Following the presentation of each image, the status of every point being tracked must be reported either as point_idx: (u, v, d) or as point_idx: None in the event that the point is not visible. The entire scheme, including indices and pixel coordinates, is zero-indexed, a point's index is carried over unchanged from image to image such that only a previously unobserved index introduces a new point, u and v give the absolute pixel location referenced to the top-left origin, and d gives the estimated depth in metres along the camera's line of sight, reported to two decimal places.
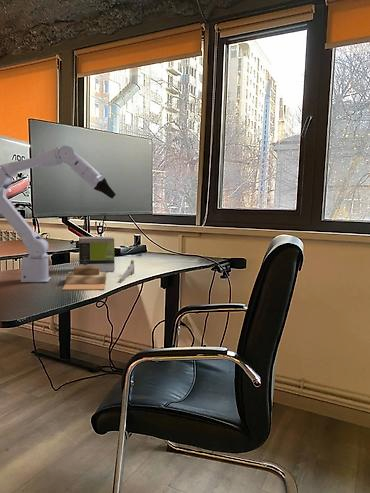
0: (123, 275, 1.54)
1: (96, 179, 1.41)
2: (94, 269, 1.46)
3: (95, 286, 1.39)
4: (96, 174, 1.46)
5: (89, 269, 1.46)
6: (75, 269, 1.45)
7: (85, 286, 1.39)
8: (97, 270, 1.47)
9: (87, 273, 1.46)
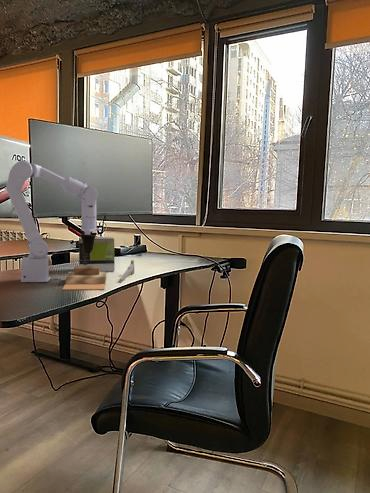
0: (123, 275, 1.54)
1: (88, 231, 1.48)
2: (94, 269, 1.46)
3: (95, 286, 1.39)
4: (93, 226, 1.53)
5: (89, 269, 1.46)
6: (75, 269, 1.45)
7: (85, 286, 1.39)
8: (97, 270, 1.47)
9: (87, 273, 1.46)
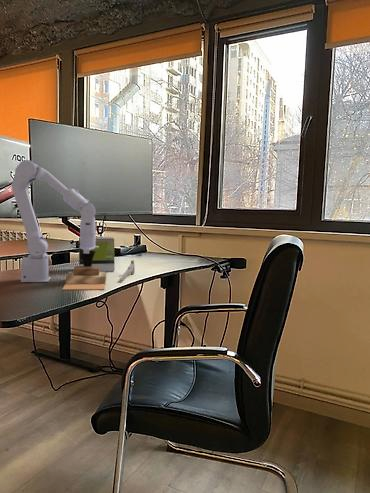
0: (123, 275, 1.54)
1: (87, 250, 1.44)
2: (94, 269, 1.45)
3: (95, 286, 1.39)
4: (92, 244, 1.49)
5: (89, 269, 1.45)
6: (75, 269, 1.44)
7: (85, 286, 1.39)
8: (97, 270, 1.46)
9: (87, 274, 1.45)
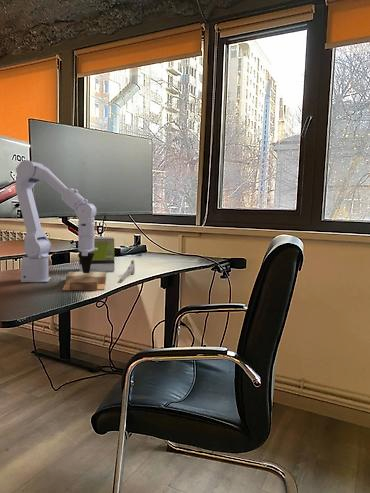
0: (123, 275, 1.54)
1: (85, 252, 1.38)
2: None
3: None
4: (91, 246, 1.43)
5: None
6: None
7: None
8: None
9: None
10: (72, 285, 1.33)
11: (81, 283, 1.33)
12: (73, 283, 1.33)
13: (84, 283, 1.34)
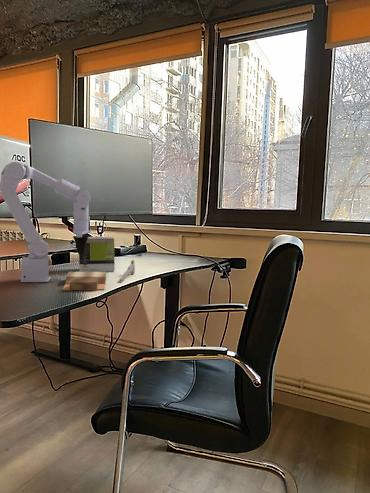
0: (123, 275, 1.53)
1: (80, 234, 1.48)
2: None
3: None
4: (85, 229, 1.53)
5: None
6: None
7: None
8: None
9: None
10: (72, 285, 1.33)
11: (81, 283, 1.33)
12: (73, 283, 1.33)
13: (84, 283, 1.34)
